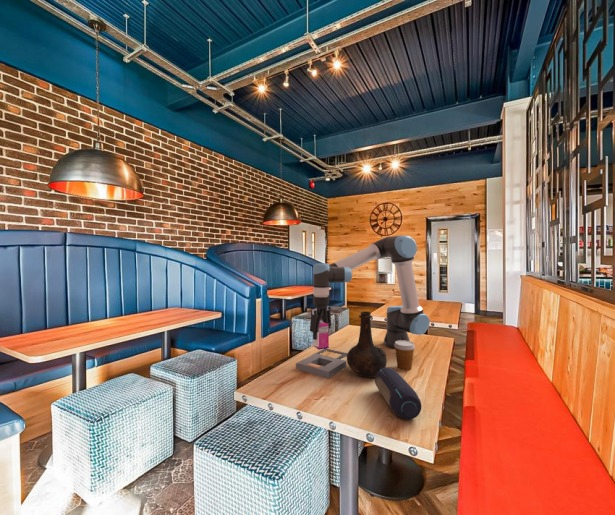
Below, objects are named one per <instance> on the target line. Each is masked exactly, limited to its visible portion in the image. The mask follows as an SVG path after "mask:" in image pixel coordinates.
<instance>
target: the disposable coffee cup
mask: <svg viewBox="0 0 615 515" xmlns="http://www.w3.org/2000/svg"><path fill="white" fill-rule="evenodd" d="M394 346H395V348H394V350H395V356H396V357H395V360H396V366H397V369H399V370H401V371H406V372H407V371H412V367H413V366H412V365H413V360H414V359H413V358H414V351H415V348H416V346H415V343H414V342H412V341H411V340H410V341H405V340H399V341H396V342H395V344H394Z"/></svg>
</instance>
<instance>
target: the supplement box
mask: <svg viewBox="0 0 615 515" xmlns="http://www.w3.org/2000/svg"><path fill="white" fill-rule="evenodd" d="M329 329H330V328H329V325H328V324H327V323H325V322H323V321H320V324H319V328H318V332H319V347H316V346H313V347H314V348H315V349H317V350H319V351H321V350H323V349H329V348H330V347H329V346H330V344H329V340H330V338H329V337H330V336H329V335H330V334H329Z"/></svg>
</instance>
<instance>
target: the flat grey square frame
mask: <svg viewBox="0 0 615 515" xmlns="http://www.w3.org/2000/svg"><path fill="white" fill-rule="evenodd" d="M326 350H327V352H330V351H331V353H336V354H339V353H340V354H339V356H337V357H335V358H336V359H340V360H342V359H343V358H345V357H347V354H348V352H343V351H339V350H334V349H331V348H330V349H329V348H326V349H320V350H319V351H317V352H315V353H316V354H320V353H321V354H322V353H325V352H326ZM324 351H325V352H324ZM321 354H320V355H321ZM341 358H342V359H341Z"/></svg>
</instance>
